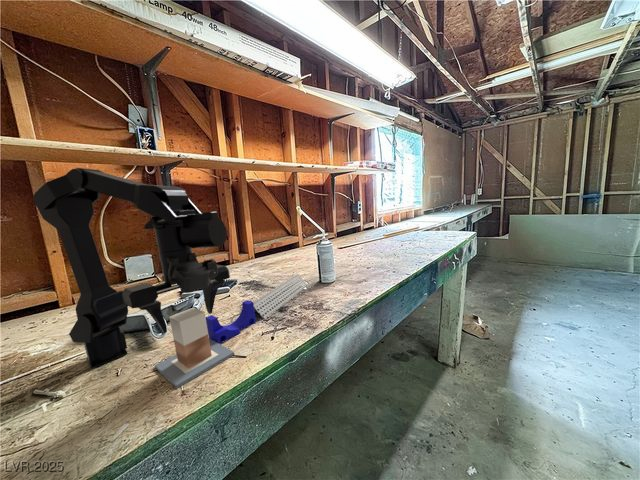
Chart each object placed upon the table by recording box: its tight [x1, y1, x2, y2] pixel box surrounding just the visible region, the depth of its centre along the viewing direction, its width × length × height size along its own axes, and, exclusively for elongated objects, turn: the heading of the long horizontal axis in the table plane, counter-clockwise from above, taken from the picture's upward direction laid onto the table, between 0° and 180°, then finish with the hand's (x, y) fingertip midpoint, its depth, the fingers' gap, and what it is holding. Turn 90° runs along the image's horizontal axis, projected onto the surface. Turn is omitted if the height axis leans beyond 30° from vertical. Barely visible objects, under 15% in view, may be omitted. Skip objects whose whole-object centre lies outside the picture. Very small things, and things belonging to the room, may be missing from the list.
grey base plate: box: [154, 338, 235, 389], centre depth 54 cm, size 12×11×1 cm
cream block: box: [169, 307, 208, 346], centre depth 53 cm, size 5×5×5 cm
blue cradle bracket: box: [205, 300, 257, 344], centre depth 66 cm, size 12×4×6 cm, turn 141°
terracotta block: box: [173, 334, 212, 368], centre depth 54 cm, size 5×5×5 cm
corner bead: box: [252, 273, 309, 320], centre depth 85 cm, size 29×9×5 cm, turn 158°
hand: (188, 322), depth 53 cm, fingers open, 9 cm apart
